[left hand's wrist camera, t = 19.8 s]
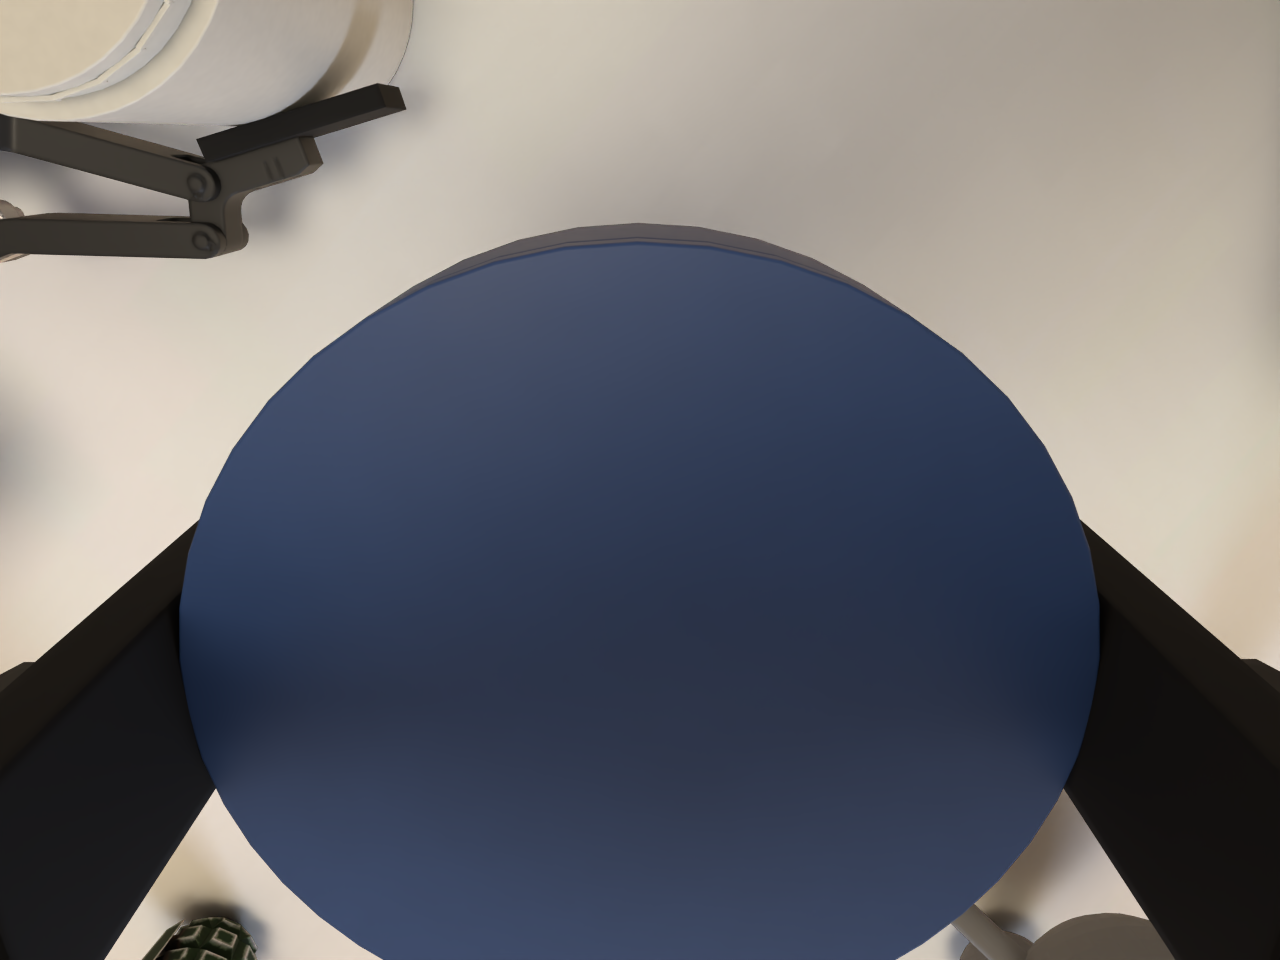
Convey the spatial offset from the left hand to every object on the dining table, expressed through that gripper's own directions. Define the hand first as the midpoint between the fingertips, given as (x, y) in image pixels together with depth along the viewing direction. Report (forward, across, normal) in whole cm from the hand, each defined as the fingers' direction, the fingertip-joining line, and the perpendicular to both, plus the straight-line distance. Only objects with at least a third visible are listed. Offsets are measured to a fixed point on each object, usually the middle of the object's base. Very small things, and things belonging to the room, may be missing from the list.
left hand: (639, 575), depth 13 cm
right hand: (+21, +10, -13) cm, 26 cm away
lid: (-3, 0, 0) cm, 3 cm away
